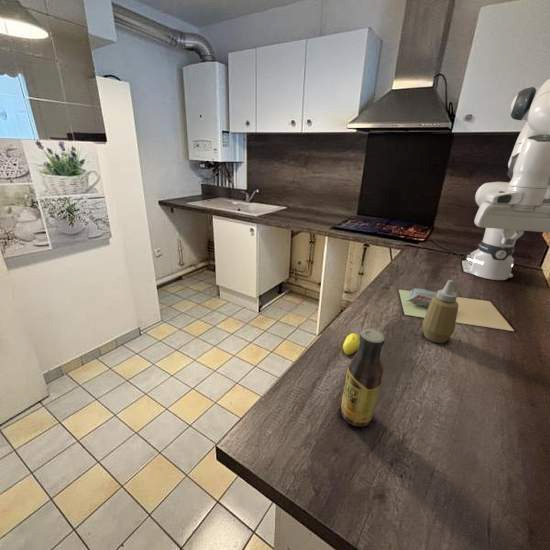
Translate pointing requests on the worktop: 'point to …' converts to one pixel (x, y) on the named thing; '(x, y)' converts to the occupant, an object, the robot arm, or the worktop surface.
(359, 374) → the sauce bottle
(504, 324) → the mat
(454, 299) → the squeeze bottle
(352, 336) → the lemon
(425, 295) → the packaged food
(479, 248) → the robot arm
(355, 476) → the worktop surface
